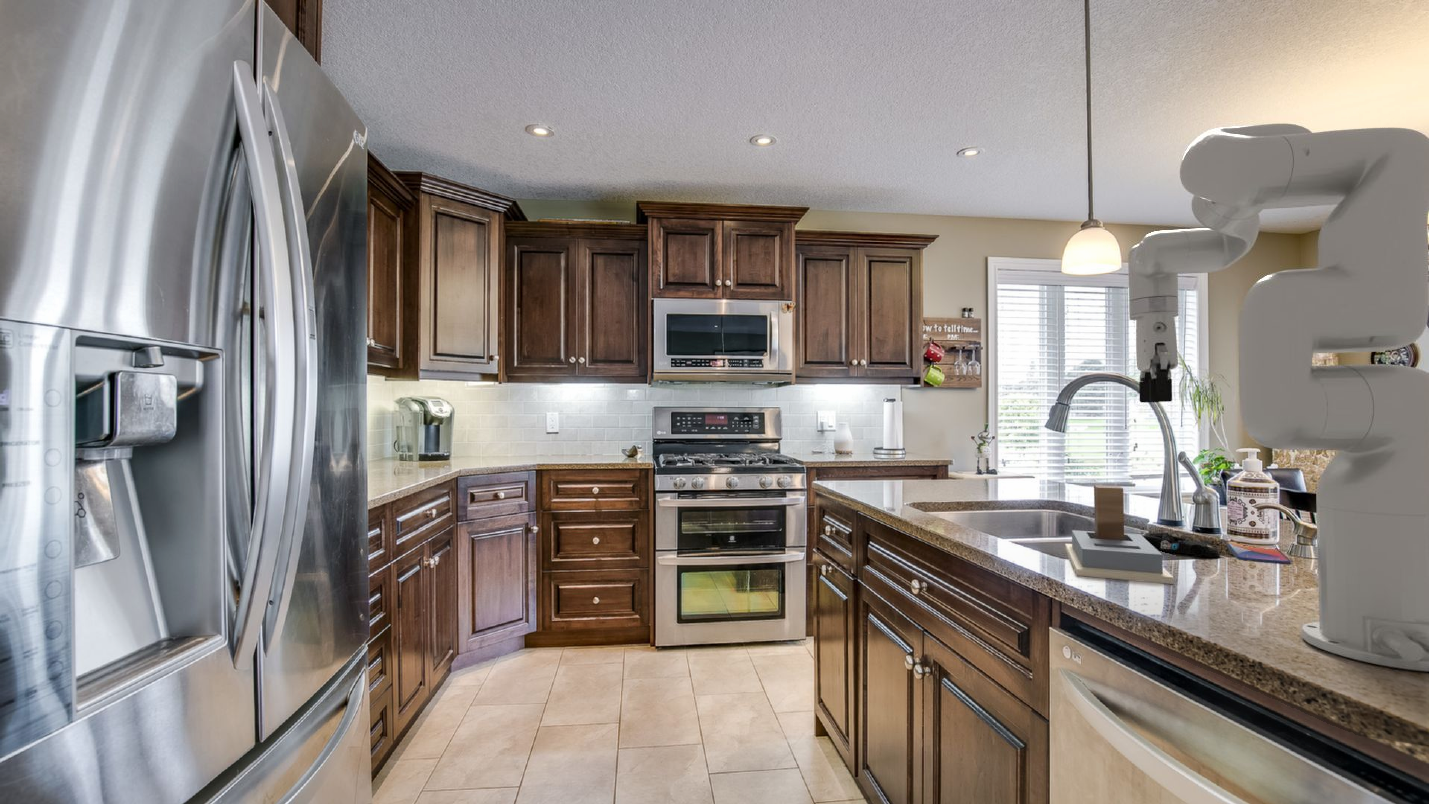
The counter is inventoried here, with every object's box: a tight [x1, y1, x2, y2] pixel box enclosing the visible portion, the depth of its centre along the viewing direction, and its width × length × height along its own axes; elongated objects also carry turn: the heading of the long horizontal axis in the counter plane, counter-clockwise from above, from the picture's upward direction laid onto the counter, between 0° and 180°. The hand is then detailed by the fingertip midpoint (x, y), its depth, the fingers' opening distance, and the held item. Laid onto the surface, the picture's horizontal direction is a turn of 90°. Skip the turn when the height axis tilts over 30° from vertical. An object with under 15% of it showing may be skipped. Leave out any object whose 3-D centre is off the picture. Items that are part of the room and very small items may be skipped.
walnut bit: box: [1093, 484, 1125, 541], centre depth 115 cm, size 4×4×12 cm
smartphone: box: [1225, 540, 1292, 565], centre depth 118 cm, size 7×15×1 cm, turn 148°
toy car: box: [1141, 532, 1221, 558], centre depth 120 cm, size 8×12×4 cm
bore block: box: [1064, 529, 1175, 585], centre depth 110 cm, size 22×13×4 cm, turn 155°
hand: (1155, 401), depth 117 cm, fingers open, 9 cm apart
